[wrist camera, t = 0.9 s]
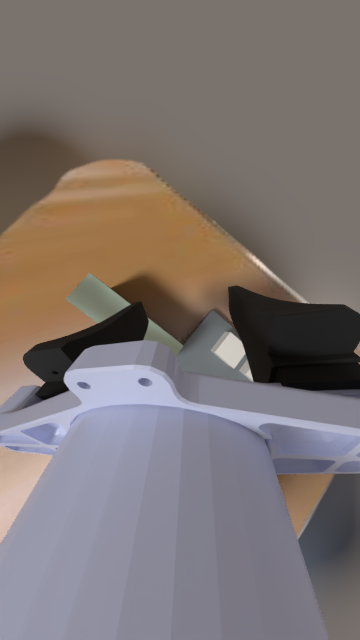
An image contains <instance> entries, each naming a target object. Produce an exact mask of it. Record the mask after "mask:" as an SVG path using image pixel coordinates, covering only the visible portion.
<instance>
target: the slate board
mask: <svg viewBox="0 0 360 640" xmlns="http://www.w3.org/2000/svg"><path fill="white" fill-rule="evenodd" d="M224 332H231V333H232V334H233V335H235V336H236V337H237V338H238V339H239V340H240V341H241V339H240V337H239V335H238V333H237V330H236V329H235V328H233V327H232V326H231V325H230V324H229V323H228V322H227V321H225V320H224V319H223V318H222V317H221V316H220V315H219V314H217V313H216V312H215V311H214V310H211V311H210V312H209V313H208V314H207V316H206V317H205V318H204V319H203V320H202V322H201V323H200V324H199V325H198V327H197V328H196V329H195V330H194V332H193V333H192V334H191V335H190V336H189V338H188V339H187V340H186V341H185V343H184V344H183V347H182V349H181V350H180V351H179V353H178V354H177V355H176V357H177V360H178V363H179V366H180V367H181V369H182V370H183V371H187V372H193V373H200V374H206V375H213V376H219V377H225V378H232V379H238V380H245V381H251V380H250V379H248V378H247V377H246V376H245V375H244V374H242V373H241V372H240V371H239V370H240V368H241V367H242V366H243V364H244V363H245V362H246V360H247V357H246V354H245V355H244V356H243V358H242V359H241V360H240V362H239V363H238V364H237V366H236V367H235V368H232V367H230V366H229V365H227V364H226V363H225V362H224V361H223V360H221V359H220V358H219V357H218V356H217V355H216V354H214V353H213V352H212V351H211V349H212V348H213V346H214V345H215V344H216V343H217V341H218V340H219V339H220V337H221V336H222V335H223V334H224ZM251 382H252V381H251Z"/></svg>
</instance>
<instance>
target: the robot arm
mask: <svg viewBox="0 0 360 640" xmlns="http://www.w3.org/2000/svg"><path fill="white" fill-rule="evenodd" d="M228 293H229V311H230V315H231V319H232V321H233V324H234V326H235V328H236V330H237V333H238V335H239V337H240V339H241V342H242V344H243V347H244V350H245V354H246V357H247V360H248V364H249V367H250V371H251V374H252V378H253V382H251V381H245V380H238V379H232V378H225V377H219V376H213V375H206V374H200V373H193V372H187V371H183V370H182V369H181V367H180V366H179V363H178V360H177V357H176V355H175V354H174V352H173V351H172V350H171V348H170V347H168V346H166V345H164V344H162V343H160V342H157V341H146V340H143V339H144V337H145V334H146V332H147V328H148V324H149V320H148V317H147V315H146V313H145V310H144V308H143V305H142V303H141V302H136V303H133V304H131V305H129V306H127V307H125V308H124V309H122V310H120V311H119V312H117V313H116V314H114V315H112V316H111V317H109V318H107V319H105V320H104V321H102V322H100V323H98V324H96V325H94V326H91V327H89V328H87V329H84V330H82V331H79V332H77V333H74V334H71V335H68V336H65V337H62V338H58V339H55V340H51V341H47V342H43V343H40V344H37V345H35V346H34V347H33V348H32V349H30V350H29V351H28V352H27V353H25V354H24V356H23V361H24V364H25V365H26V366H27V367H28V368H29V369H30V370H31V371H32V372H33V373H34V374H36V375H37V376H38V377H39V378H41V379H42V380H43V381H44V382H45V384H44V385H43V386H42V387H40V386H22V387H20V388H19V389H18V390H17V391H16V392H15V393H14V394H13V395H12V396H11V397H10V398H9V399H8V400H7V401H6V402H5V403H4V404H3V405H2V406H1V407H0V446H2V447H4V448H7V449H10V450H12V451H15V452H26V453H36V454H45V455H52V456H53V457H52V458H51V460H50V462H49V463H48V465H47V467H46V468H45V470H44V472H43V473H42V475H41V477H40V478H39V480H38V482H37V483H36V485H35V487H34V488H33V490H32V492H31V493H30V495H29V497H28V498H27V500H26V502H25V503H24V505H23V507H22V508H21V510H20V512H19V513H18V515H17V517H16V519H15V520H14V522H13V524H12V525H11V527H10V529H9V530H8V532H7V534H6V535H5V537H4V539H3V540H2V542H1V544H0V640H329V637H328V634H327V631H326V628H325V625H324V622H323V619H322V615H321V612H320V609H319V606H318V603H317V600H316V596H315V594H314V590H313V587H312V584H311V581H310V578H309V575H308V571H307V568H306V565H305V562H304V559H303V556H302V553H301V550H300V546H299V543H298V540H297V537H296V534H295V531H294V528H293V524H292V521H291V518H290V515H289V512H288V509H287V506H286V503H285V499H284V496H283V493H282V490H281V487H280V484H279V481H278V477H277V474H339V473H360V364H359V363H358V362H360V357H359V356H358V355H357V354H355V353H354V350H355V348H356V347H357V345H358V344H359V342H360V314H359V313H358V312H356V311H354V310H352V309H351V308H349V307H348V306H346V305H341V304H340V305H339V304H338V305H337V304H307V303H296V302H289V301H282V300H277V299H273V298H269V297H265V296H262V295H259V294H256V293H254V292H251V291H249V290H247V289H244V288H242V287H240V286H231V287H228Z"/></svg>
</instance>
